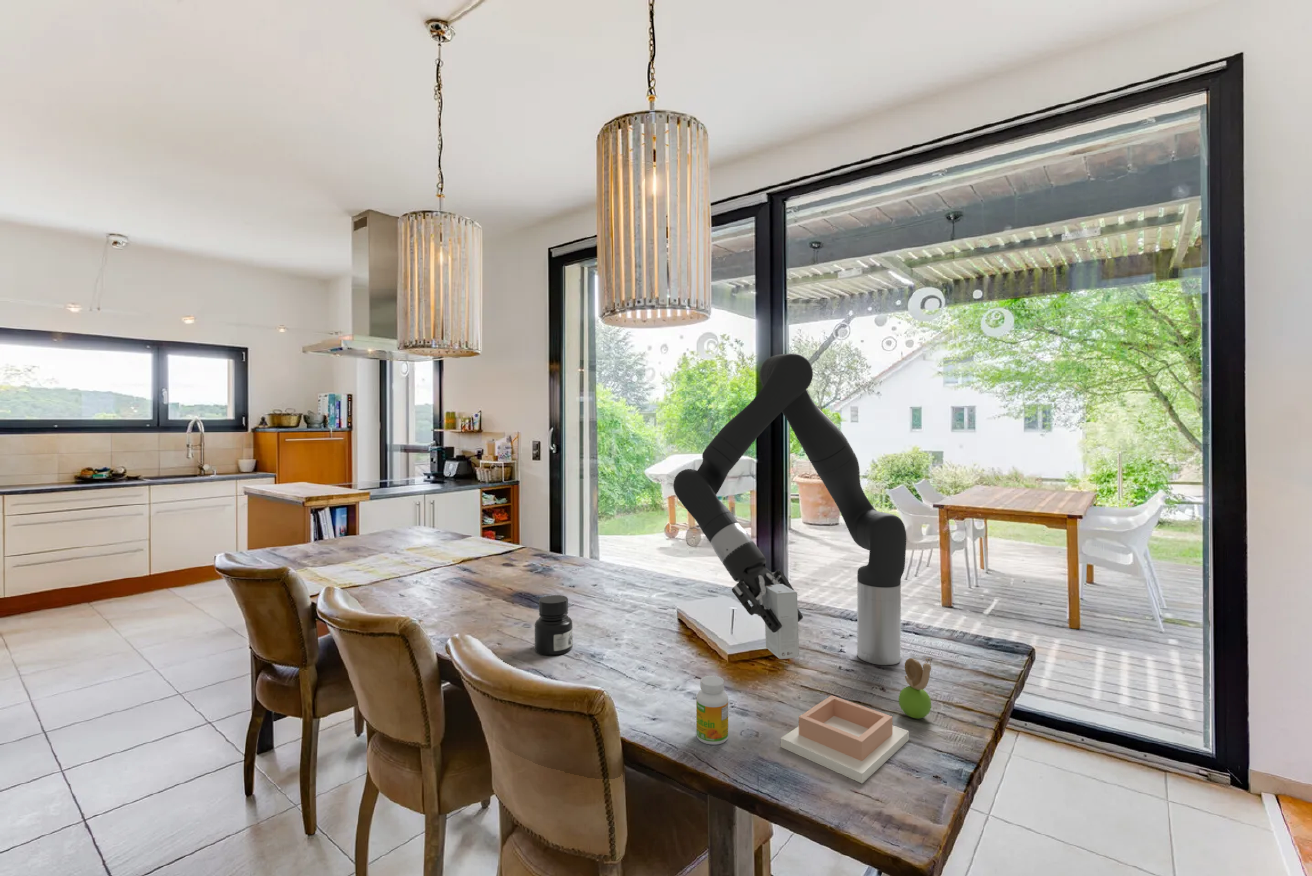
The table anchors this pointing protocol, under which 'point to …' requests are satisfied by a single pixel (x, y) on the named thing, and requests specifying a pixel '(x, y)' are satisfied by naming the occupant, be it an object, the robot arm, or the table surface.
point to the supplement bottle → (712, 711)
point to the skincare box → (783, 622)
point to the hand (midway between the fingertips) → (788, 625)
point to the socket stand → (845, 738)
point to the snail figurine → (916, 689)
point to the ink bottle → (553, 626)
